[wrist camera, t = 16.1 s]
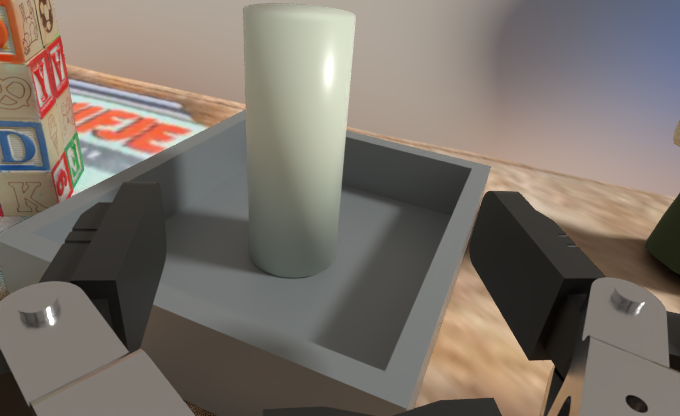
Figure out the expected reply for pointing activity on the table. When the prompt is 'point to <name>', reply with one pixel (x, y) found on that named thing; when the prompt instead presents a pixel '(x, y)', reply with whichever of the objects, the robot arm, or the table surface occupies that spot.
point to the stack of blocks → (34, 111)
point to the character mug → (668, 231)
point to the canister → (295, 132)
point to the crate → (282, 292)
